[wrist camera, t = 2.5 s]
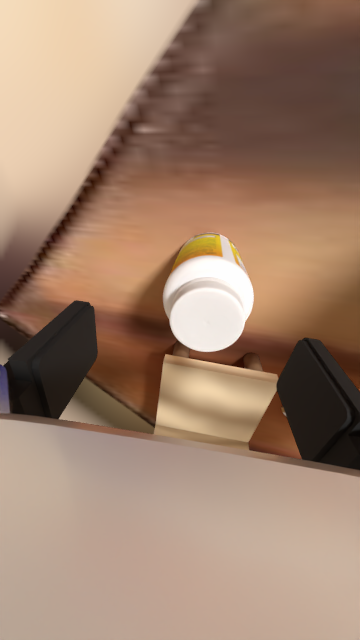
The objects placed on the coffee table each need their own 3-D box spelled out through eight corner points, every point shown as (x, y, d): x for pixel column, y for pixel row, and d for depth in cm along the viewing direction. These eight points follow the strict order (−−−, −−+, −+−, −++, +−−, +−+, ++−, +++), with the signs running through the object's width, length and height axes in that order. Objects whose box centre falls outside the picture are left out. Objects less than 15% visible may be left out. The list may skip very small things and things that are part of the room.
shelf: (170, 333, 25) (158, 381, 19) (268, 351, 24) (287, 405, 18) (162, 397, 30) (150, 449, 24) (241, 412, 30) (248, 469, 24)
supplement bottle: (167, 272, 21) (136, 334, 12) (198, 217, 18) (187, 247, 10) (216, 301, 22) (219, 377, 13) (252, 253, 19) (287, 310, 11)
